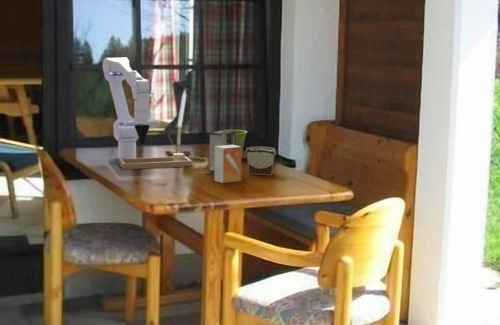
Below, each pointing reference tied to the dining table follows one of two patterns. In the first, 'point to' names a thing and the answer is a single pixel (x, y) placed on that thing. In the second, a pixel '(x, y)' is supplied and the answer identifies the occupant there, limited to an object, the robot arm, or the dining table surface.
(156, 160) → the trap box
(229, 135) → the coffee box
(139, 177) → the dining table surface
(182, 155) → the birch cube
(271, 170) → the food container
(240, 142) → the plant pot
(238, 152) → the small box
